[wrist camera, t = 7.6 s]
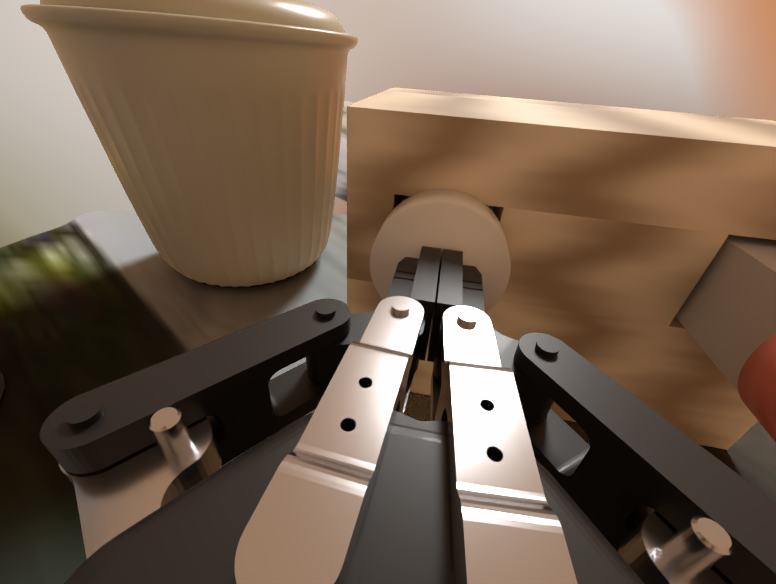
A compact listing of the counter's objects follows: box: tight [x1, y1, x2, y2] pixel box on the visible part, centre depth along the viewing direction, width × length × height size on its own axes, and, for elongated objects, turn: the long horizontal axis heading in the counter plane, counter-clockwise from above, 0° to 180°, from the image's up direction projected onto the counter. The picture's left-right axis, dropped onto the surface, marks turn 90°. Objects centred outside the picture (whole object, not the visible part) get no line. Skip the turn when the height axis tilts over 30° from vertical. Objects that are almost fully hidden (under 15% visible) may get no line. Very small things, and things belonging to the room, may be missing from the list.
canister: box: [21, 0, 358, 287], centre depth 25 cm, size 18×18×21 cm
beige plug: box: [370, 189, 511, 324], centre depth 17 cm, size 5×9×5 cm, turn 170°
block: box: [347, 87, 776, 450], centre depth 19 cm, size 20×10×14 cm, turn 80°
